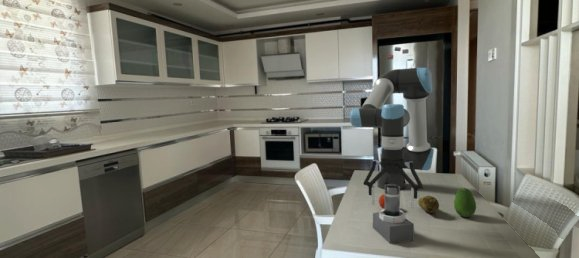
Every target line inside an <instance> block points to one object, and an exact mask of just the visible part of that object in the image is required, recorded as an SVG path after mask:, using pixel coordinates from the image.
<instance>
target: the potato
mask: <svg viewBox="0 0 579 258" xmlns="http://www.w3.org/2000/svg"><path fill="white" fill-rule="evenodd" d="M418 206H419V207H420V208H421V209H422V210H423V211H425V212H427V213H435V212H436V211H438V210H439V208H440V203H439V201H438V199H437V198H436V197H435V196H431V195H424V196H421V197H419V199H418Z"/></svg>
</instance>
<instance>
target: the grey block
mask: <svg viewBox="0 0 579 258" xmlns="http://www.w3.org/2000/svg"><path fill="white" fill-rule="evenodd" d="M414 224H415V223H413V222H412V221H411V220H409V219H408V218H406V212H404V211H403V210H402V209H400V216H395V217H393V216H387V215H385V209H383V208H382V209H381V210H380V211H377V212H372V229H374V230H375V231H376V232H377V233H378V234H379V235H380V236H381V237H382V238H383V239H384V240H385V241H387V243H389V244H395V243H403V242H404V243H405V242H410V241H411V242H412V241H414V237H415V236H414V234H415V233H414V228H415V227H414Z"/></svg>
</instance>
